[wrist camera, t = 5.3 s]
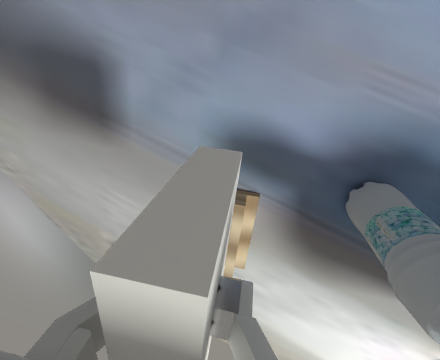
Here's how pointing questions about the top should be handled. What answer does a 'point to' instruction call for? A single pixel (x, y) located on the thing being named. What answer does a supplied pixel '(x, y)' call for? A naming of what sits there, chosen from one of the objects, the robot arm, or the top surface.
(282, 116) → the top surface
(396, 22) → the top surface
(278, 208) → the top surface
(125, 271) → the white rectangular block
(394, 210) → the bottle
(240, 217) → the tan pegged board
